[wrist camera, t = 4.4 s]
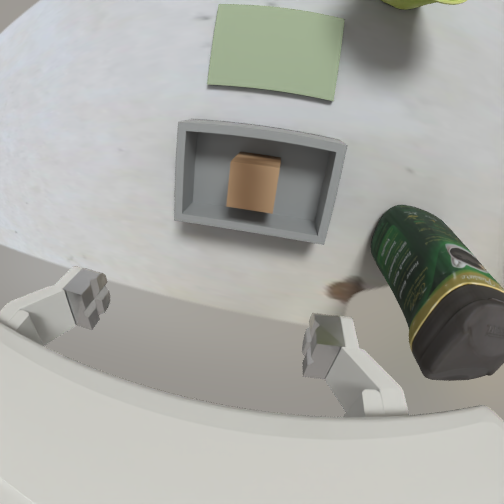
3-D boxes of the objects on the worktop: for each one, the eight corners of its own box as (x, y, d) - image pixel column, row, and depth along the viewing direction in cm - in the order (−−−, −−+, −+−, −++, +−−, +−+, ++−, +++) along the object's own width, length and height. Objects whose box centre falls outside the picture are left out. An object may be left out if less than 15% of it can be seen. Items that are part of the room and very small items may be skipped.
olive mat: (343, 20, 19) (344, 19, 19) (332, 101, 24) (333, 101, 23) (219, 5, 20) (218, 4, 19) (208, 84, 24) (207, 84, 24)
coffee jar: (360, 256, 31) (404, 396, 15) (386, 194, 27) (477, 308, 11) (424, 275, 31) (484, 394, 15) (451, 220, 27) (543, 325, 11)
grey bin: (339, 139, 25) (347, 145, 22) (320, 227, 30) (323, 244, 27) (192, 119, 26) (178, 121, 22) (187, 206, 31) (174, 220, 27)
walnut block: (281, 157, 26) (279, 168, 22) (275, 195, 28) (272, 213, 24) (240, 151, 27) (230, 161, 22) (236, 189, 29) (226, 206, 24)
